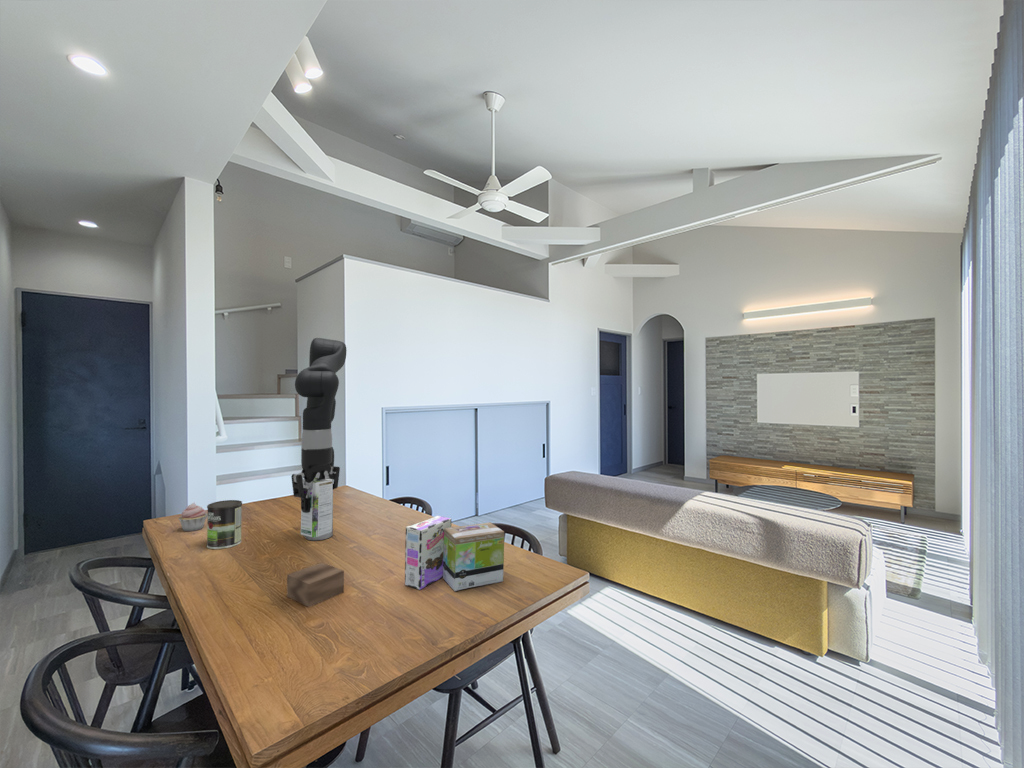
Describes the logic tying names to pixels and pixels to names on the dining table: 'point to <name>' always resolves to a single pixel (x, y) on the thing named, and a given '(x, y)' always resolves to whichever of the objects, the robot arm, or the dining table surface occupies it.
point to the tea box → (473, 555)
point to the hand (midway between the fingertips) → (316, 508)
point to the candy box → (425, 551)
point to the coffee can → (224, 524)
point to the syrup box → (318, 510)
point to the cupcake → (193, 518)
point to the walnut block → (315, 584)
